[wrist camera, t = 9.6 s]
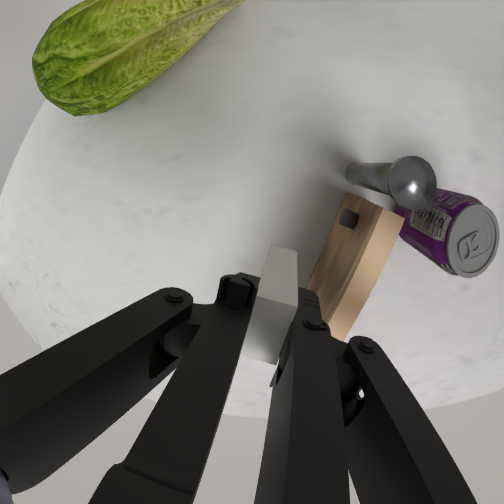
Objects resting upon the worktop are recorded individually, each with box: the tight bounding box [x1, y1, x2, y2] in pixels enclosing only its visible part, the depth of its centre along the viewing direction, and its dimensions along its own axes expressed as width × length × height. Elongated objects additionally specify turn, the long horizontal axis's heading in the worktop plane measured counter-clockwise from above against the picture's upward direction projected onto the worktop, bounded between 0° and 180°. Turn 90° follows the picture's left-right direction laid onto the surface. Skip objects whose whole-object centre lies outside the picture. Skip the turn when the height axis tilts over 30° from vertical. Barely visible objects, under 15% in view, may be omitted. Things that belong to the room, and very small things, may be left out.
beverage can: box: [395, 188, 499, 278], centre depth 22 cm, size 7×7×12 cm
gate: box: [305, 191, 405, 341], centre depth 24 cm, size 15×3×12 cm, turn 161°
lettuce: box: [32, 0, 246, 116], centre depth 20 cm, size 15×24×14 cm, turn 110°
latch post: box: [346, 156, 437, 210], centre depth 21 cm, size 3×3×15 cm
